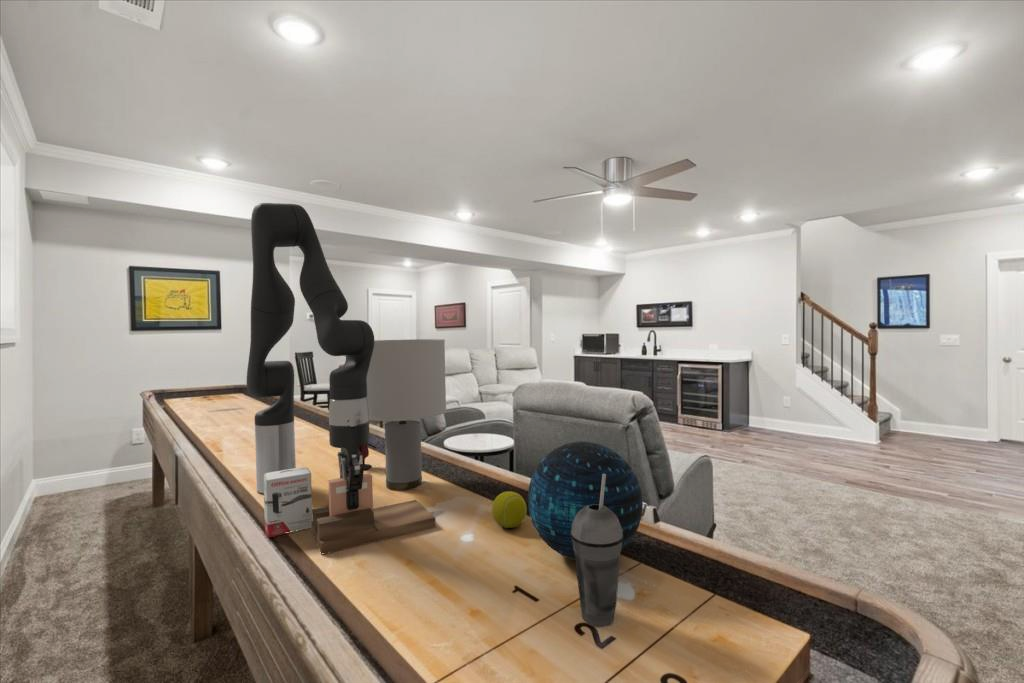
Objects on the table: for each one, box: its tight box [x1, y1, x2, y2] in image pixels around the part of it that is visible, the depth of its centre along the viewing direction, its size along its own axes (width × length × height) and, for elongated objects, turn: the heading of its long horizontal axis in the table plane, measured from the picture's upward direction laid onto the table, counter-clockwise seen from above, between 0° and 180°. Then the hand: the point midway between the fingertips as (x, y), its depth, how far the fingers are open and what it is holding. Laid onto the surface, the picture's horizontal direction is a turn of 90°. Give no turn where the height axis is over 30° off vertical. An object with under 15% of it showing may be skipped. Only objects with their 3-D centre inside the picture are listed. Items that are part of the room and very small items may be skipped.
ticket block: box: [311, 499, 436, 555], centre depth 96 cm, size 12×22×5 cm, turn 121°
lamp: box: [367, 338, 447, 491], centre depth 124 cm, size 23×23×38 cm
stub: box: [327, 472, 374, 516], centre depth 94 cm, size 2×8×9 cm, turn 120°
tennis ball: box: [491, 491, 528, 529], centre depth 97 cm, size 7×7×7 cm
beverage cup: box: [570, 474, 624, 628], centre depth 65 cm, size 7×7×20 cm
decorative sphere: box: [527, 441, 644, 561], centre depth 83 cm, size 20×20×20 cm
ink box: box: [263, 466, 313, 539], centre depth 97 cm, size 8×5×12 cm, turn 123°
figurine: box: [359, 442, 378, 471], centre depth 140 cm, size 7×7×15 cm
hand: (351, 506), depth 94 cm, fingers closed on stub, 2 cm apart
